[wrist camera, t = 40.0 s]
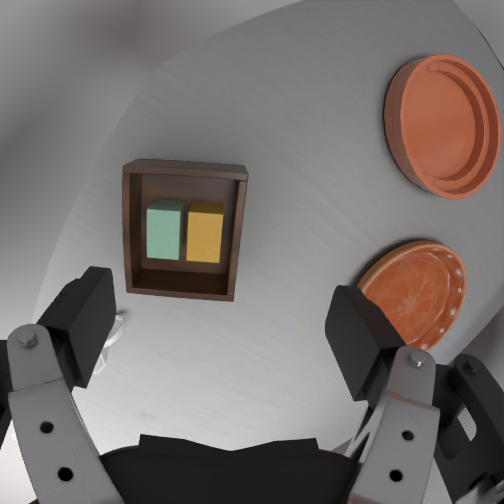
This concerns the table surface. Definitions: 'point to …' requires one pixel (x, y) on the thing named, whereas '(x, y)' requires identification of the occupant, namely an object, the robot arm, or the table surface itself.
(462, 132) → the bowl
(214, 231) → the yellow block
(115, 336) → the cup
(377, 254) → the table surface
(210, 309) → the table surface
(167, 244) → the mint green block
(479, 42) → the table surface
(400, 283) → the saucer
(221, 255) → the holder
